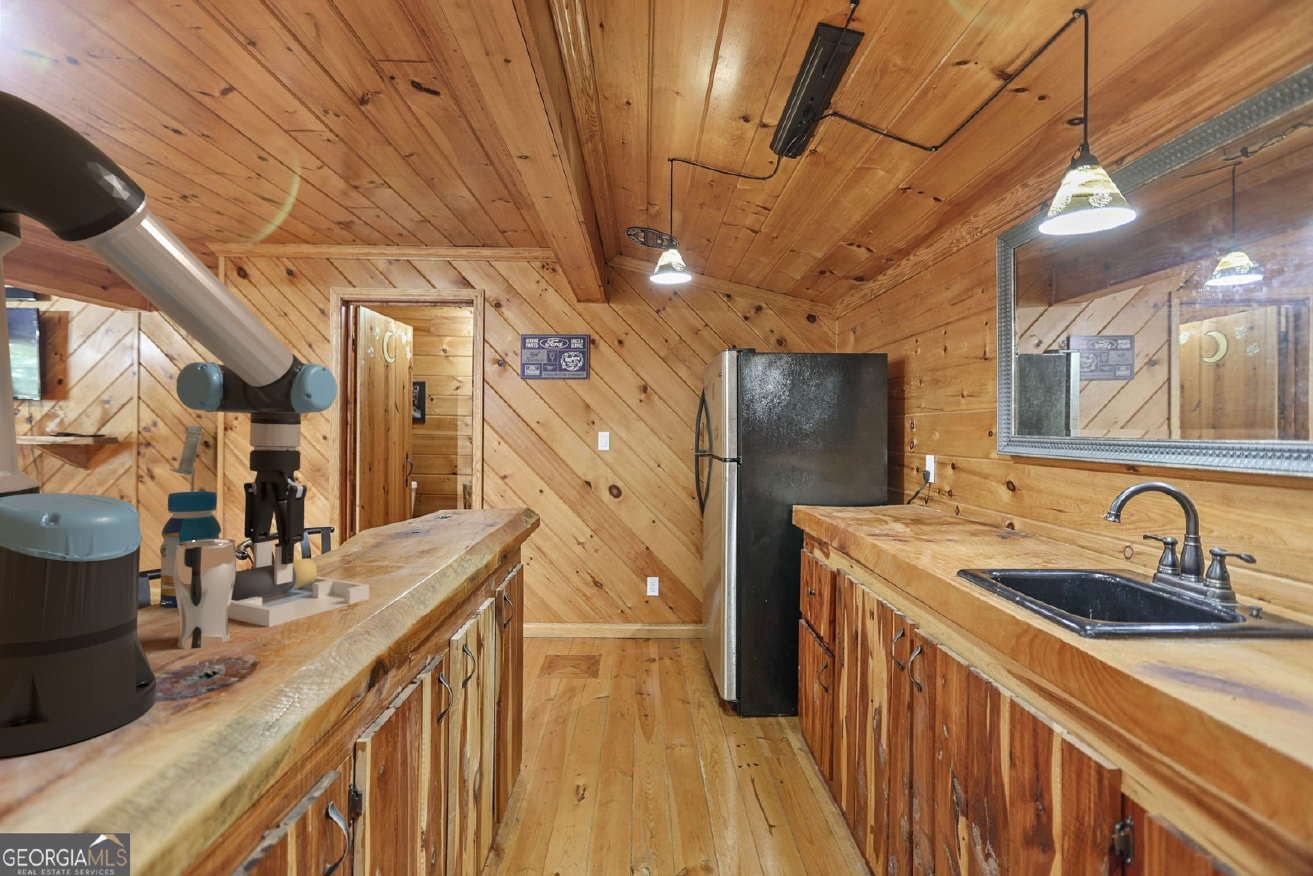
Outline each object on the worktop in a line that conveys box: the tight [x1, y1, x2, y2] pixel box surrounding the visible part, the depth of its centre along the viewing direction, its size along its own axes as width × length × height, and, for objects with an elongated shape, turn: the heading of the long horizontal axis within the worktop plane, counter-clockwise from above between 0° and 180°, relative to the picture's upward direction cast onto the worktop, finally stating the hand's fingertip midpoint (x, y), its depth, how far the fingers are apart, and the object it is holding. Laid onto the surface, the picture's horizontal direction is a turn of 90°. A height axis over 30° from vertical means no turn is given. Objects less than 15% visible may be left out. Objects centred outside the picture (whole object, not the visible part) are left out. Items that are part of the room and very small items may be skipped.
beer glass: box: [174, 538, 237, 650], centre depth 82 cm, size 7×7×15 cm
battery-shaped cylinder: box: [231, 558, 318, 601], centre depth 103 cm, size 13×5×5 cm, turn 157°
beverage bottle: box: [159, 490, 222, 609], centre depth 102 cm, size 8×8×20 cm
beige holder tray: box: [228, 576, 370, 628], centre depth 101 cm, size 18×18×4 cm
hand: (272, 580), depth 102 cm, fingers closed on battery-shaped cylinder, 5 cm apart
